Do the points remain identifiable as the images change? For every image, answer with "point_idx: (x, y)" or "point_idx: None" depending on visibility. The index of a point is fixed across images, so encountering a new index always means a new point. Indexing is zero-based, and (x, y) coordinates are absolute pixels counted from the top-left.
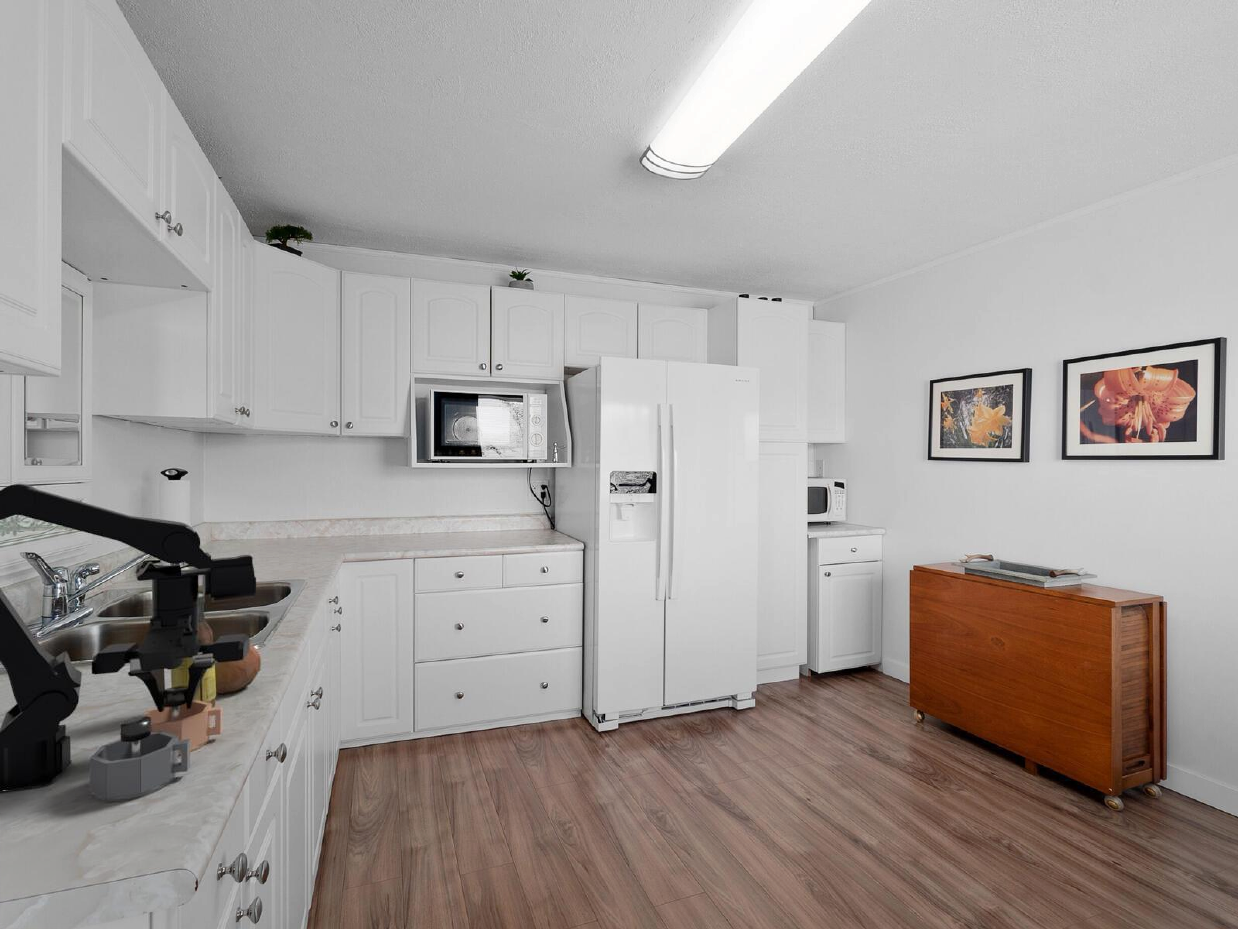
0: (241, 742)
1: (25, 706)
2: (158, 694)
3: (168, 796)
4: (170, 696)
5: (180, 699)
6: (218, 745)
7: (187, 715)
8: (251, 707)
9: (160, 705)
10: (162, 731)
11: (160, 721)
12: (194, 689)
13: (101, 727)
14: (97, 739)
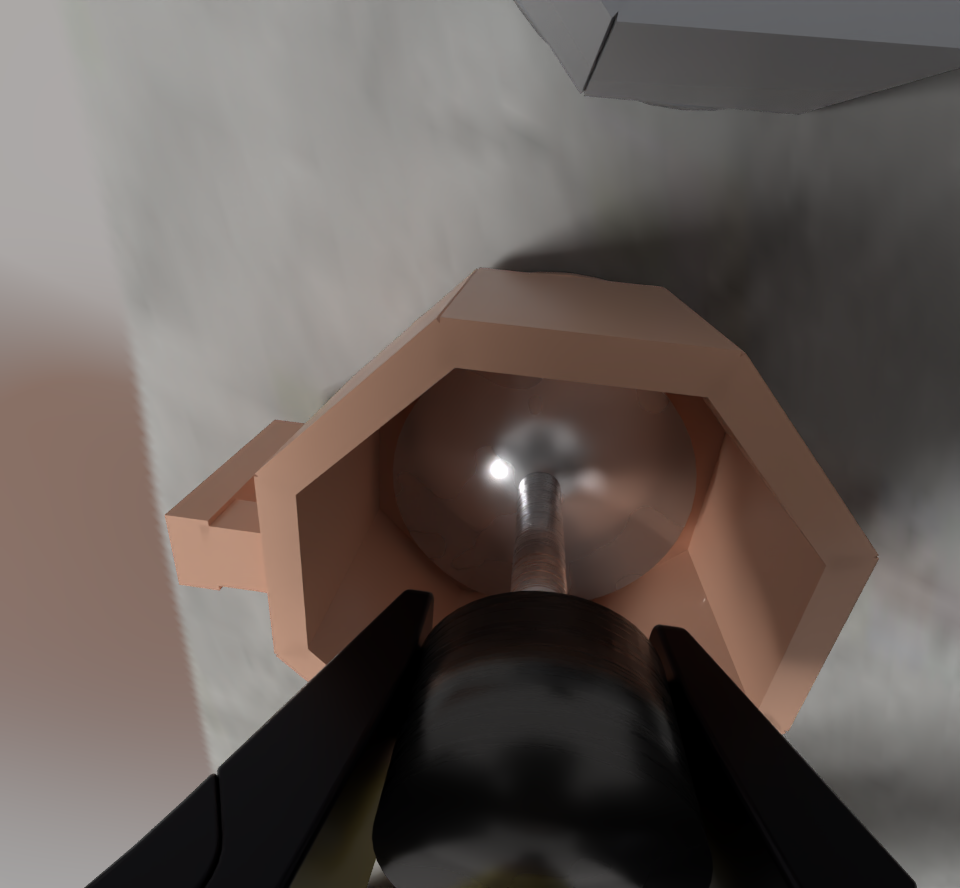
0: (158, 322)
1: None
2: (769, 824)
3: None
4: (587, 720)
5: (464, 660)
6: (287, 339)
7: None
8: None
9: (689, 678)
10: (612, 7)
11: None
12: (248, 758)
13: (894, 827)
14: (928, 717)
